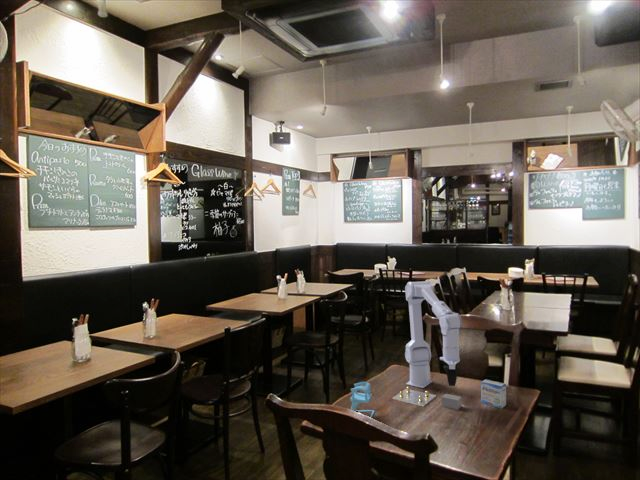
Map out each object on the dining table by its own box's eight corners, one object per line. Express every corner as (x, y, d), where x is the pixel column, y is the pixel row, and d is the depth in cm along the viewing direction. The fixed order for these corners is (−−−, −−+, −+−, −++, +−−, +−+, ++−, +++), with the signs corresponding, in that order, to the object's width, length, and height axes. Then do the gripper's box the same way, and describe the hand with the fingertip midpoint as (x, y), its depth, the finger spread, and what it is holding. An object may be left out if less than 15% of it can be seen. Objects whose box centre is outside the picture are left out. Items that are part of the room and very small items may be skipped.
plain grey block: (441, 402, 170) (441, 390, 170) (470, 408, 163) (470, 396, 163) (432, 410, 162) (432, 397, 162) (462, 416, 156) (462, 404, 156)
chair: (352, 410, 162) (352, 378, 162) (374, 412, 160) (374, 380, 159) (347, 419, 155) (346, 385, 155) (370, 421, 152) (369, 387, 152)
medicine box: (480, 404, 165) (480, 381, 165) (485, 400, 169) (485, 378, 169) (502, 409, 160) (501, 386, 160) (506, 406, 163) (506, 383, 163)
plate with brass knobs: (405, 391, 180) (405, 383, 180) (436, 397, 173) (436, 390, 173) (392, 400, 171) (392, 392, 171) (423, 407, 163) (423, 399, 163)
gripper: (439, 341, 170) (439, 375, 171) (440, 351, 156) (440, 388, 156) (458, 341, 169) (458, 376, 169) (461, 352, 155) (461, 390, 155)
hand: (451, 382), depth 163 cm, fingers open, 6 cm apart
